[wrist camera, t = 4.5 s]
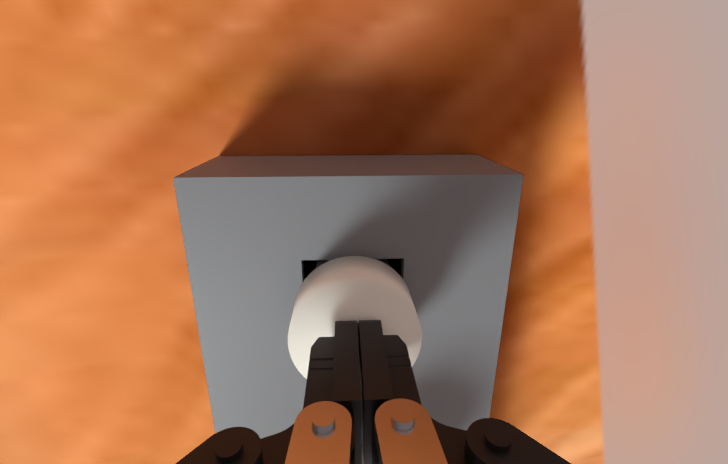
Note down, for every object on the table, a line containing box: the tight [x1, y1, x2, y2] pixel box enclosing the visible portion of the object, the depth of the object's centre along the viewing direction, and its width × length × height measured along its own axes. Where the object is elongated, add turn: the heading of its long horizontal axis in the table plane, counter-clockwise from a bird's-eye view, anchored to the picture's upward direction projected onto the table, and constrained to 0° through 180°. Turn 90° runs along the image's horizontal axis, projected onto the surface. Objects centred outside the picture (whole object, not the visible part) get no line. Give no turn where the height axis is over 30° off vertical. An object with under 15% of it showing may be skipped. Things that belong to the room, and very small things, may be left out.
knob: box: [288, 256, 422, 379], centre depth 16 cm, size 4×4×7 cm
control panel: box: [173, 154, 523, 444], centre depth 20 cm, size 28×12×5 cm, turn 0°
